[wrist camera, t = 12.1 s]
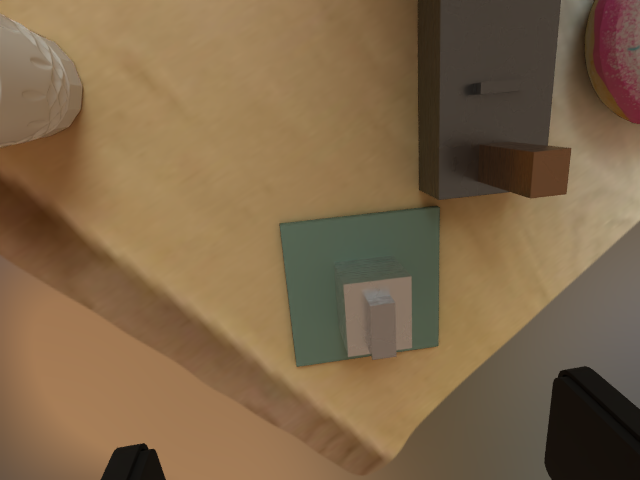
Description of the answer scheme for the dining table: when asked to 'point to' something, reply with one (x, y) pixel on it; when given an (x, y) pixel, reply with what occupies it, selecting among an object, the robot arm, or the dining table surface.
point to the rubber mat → (354, 244)
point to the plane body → (488, 98)
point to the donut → (615, 55)
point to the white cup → (34, 85)
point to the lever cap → (374, 306)
